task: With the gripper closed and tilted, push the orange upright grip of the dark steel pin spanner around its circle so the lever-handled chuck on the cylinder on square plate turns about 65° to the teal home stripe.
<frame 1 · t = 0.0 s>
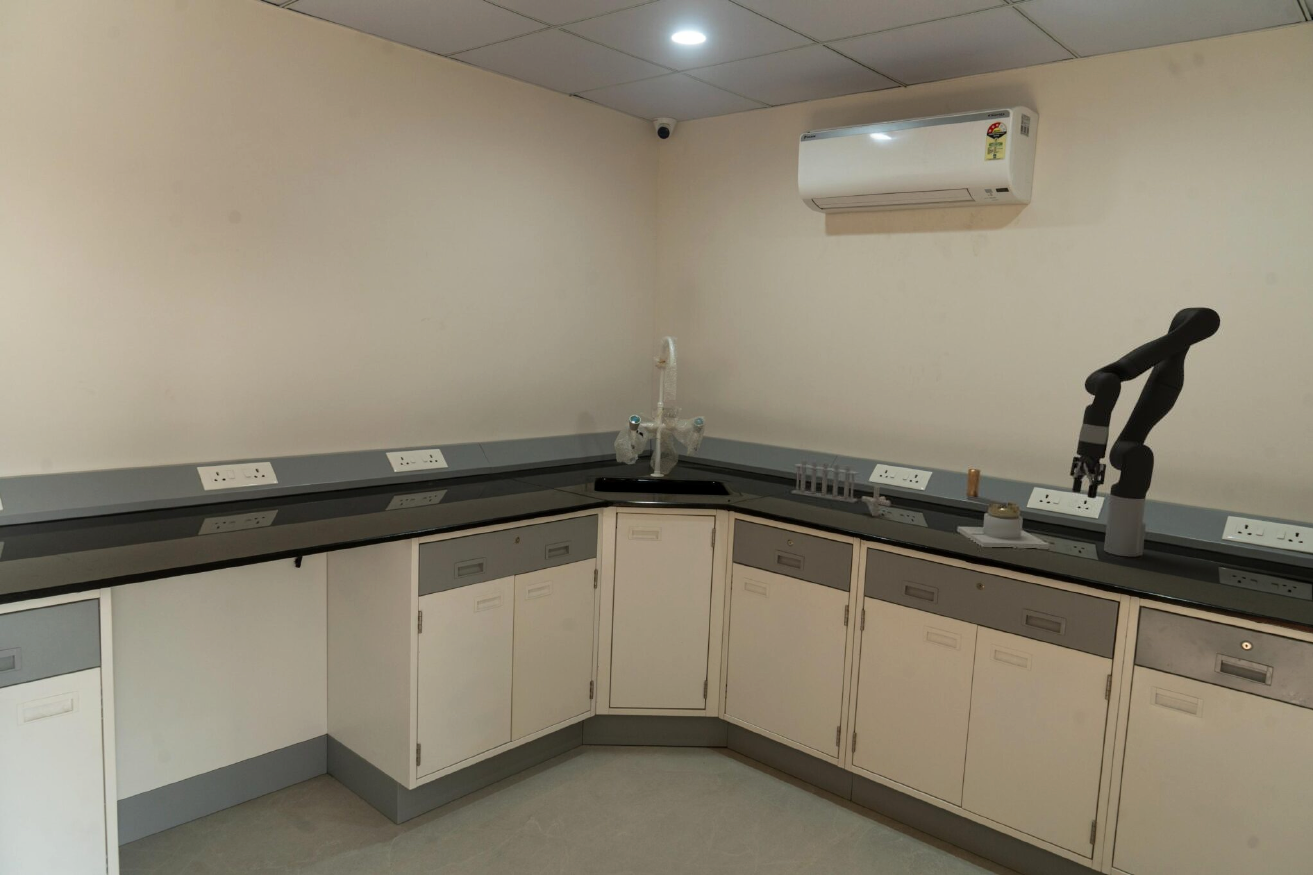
hand: (1083, 494, 250), 17 cm above the table, tool pointing down, fingers open, 8 cm apart
pipe connector: (874, 515, 293), on the table
lever-handled chuck: (992, 493, 266), point 14 cm above the table, hinge at 0.0°
cylinder on square plate: (1001, 539, 264), on the table
test tube rack: (823, 497, 322), on the table
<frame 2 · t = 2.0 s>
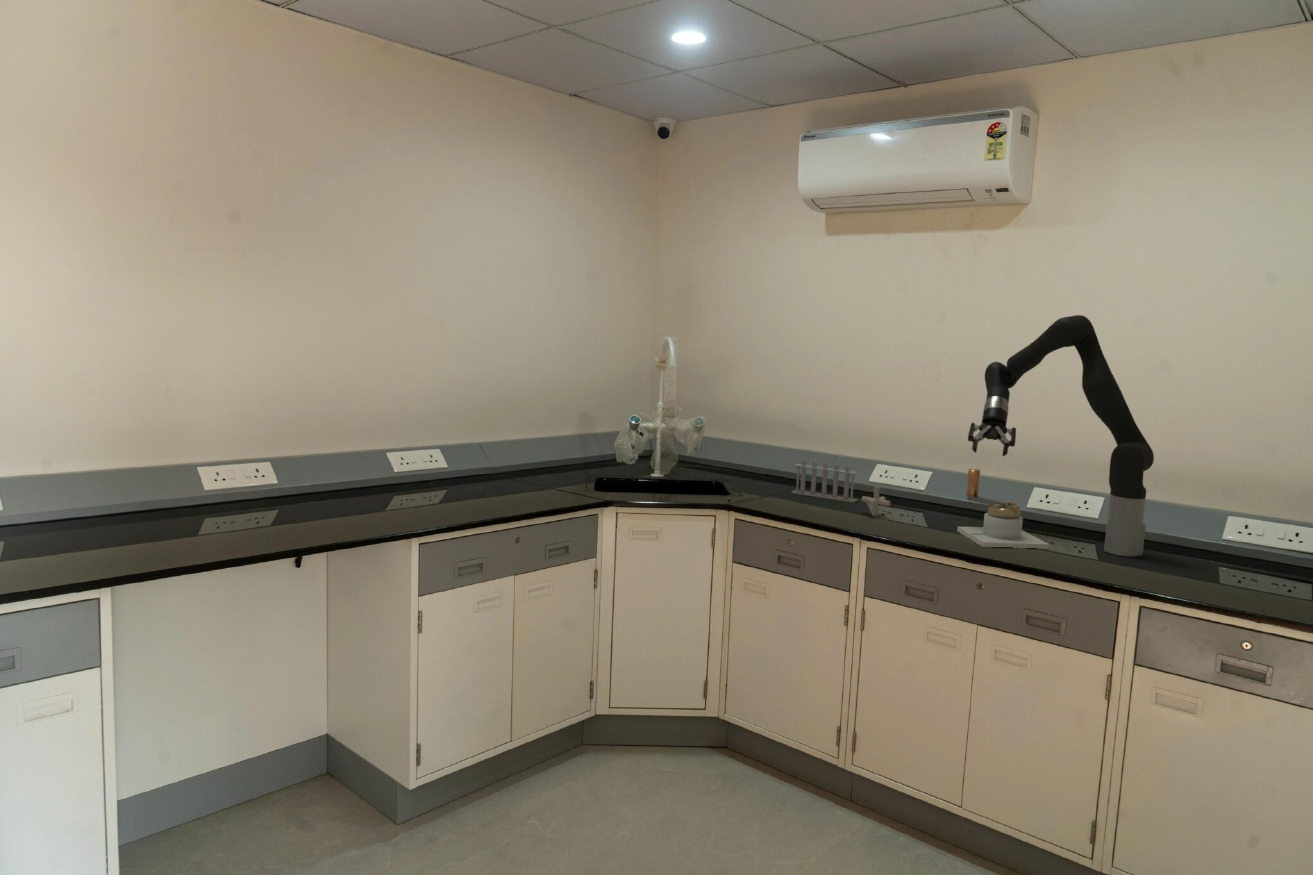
hand: (989, 453, 272), 25 cm above the table, tool tilted 45°, fingers open, 8 cm apart
nothing on the table moved.
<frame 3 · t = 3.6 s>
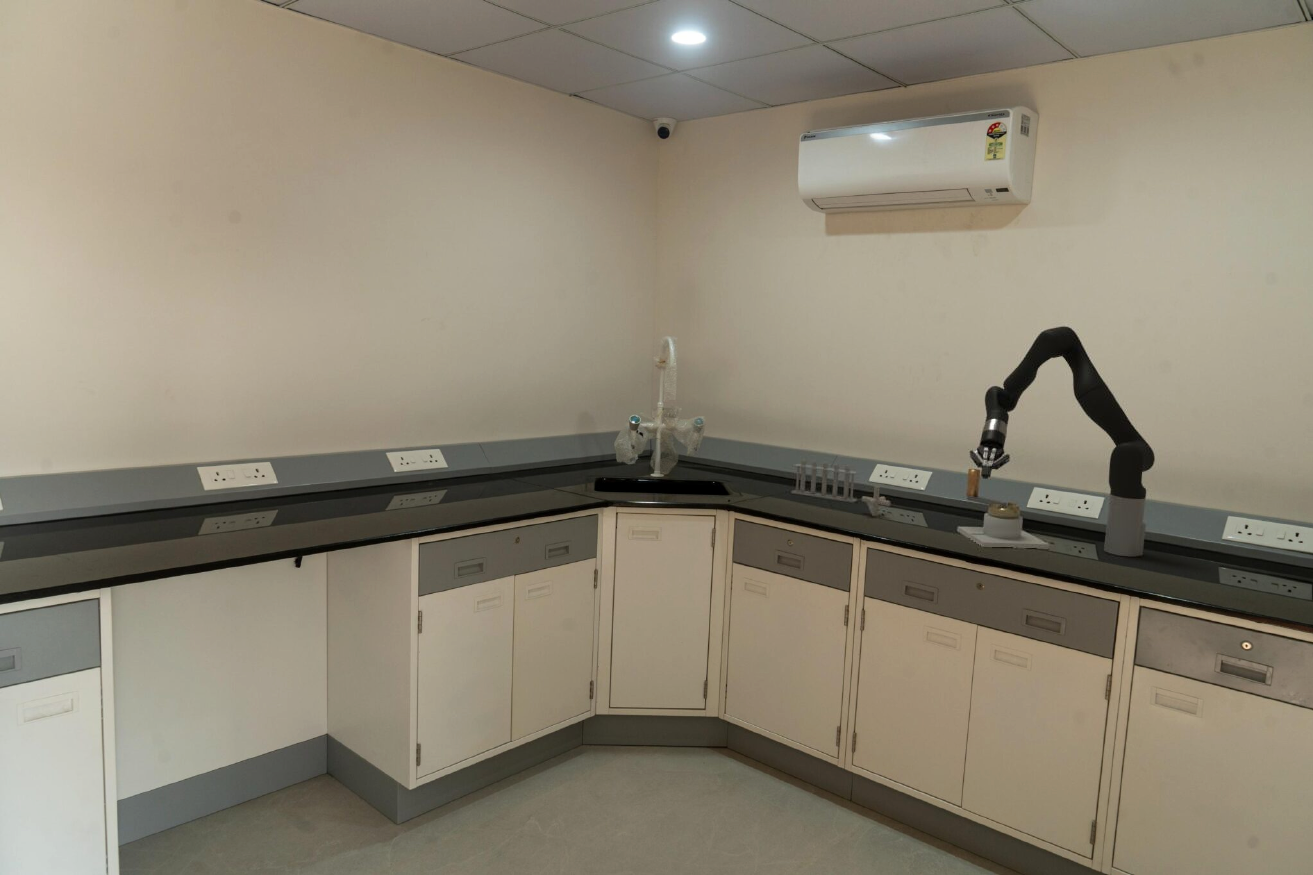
hand: (985, 477, 275), 17 cm above the table, tool tilted 45°, fingers closed
nothing on the table moved.
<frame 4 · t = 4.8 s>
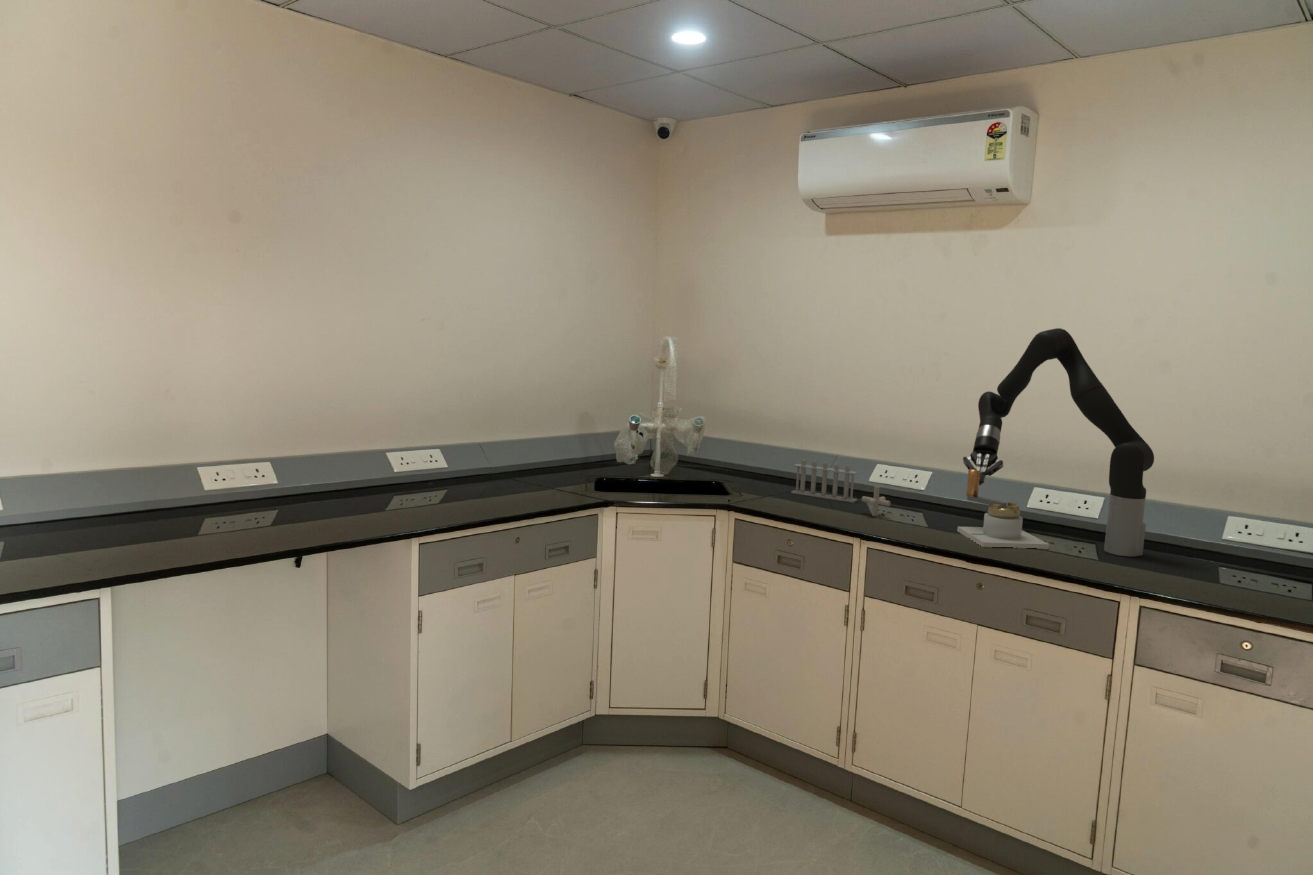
hand: (978, 483, 273), 15 cm above the table, tool tilted 45°, fingers closed
lever-handled chuck: (992, 493, 266), point 14 cm above the table, hinge at 0.2°, touching gripper
everything else where it was.
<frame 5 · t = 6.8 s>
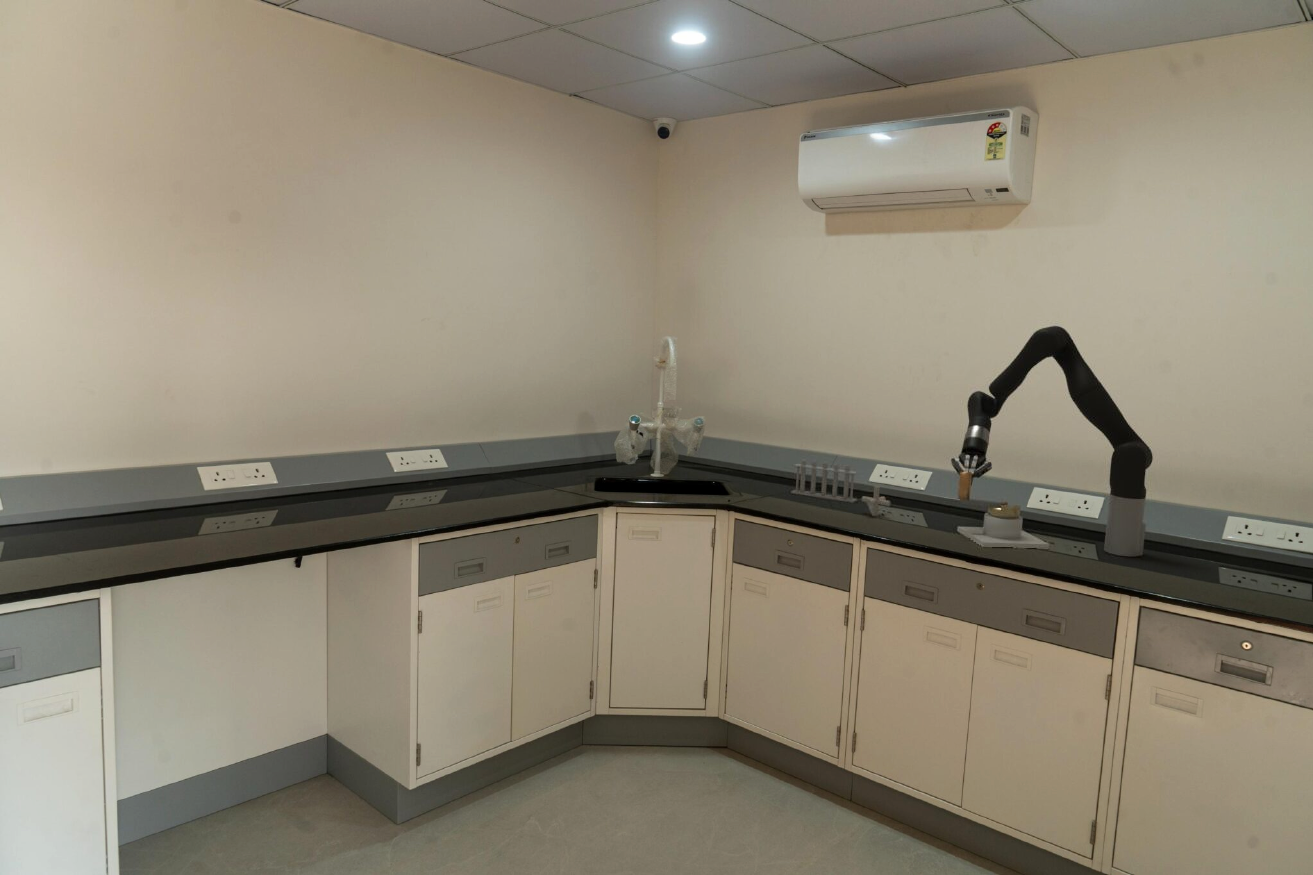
hand: (966, 485, 269), 15 cm above the table, tool tilted 45°, fingers closed
lever-handled chuck: (989, 494, 264), point 14 cm above the table, hinge at 35.2°, touching gripper
everything else where it was.
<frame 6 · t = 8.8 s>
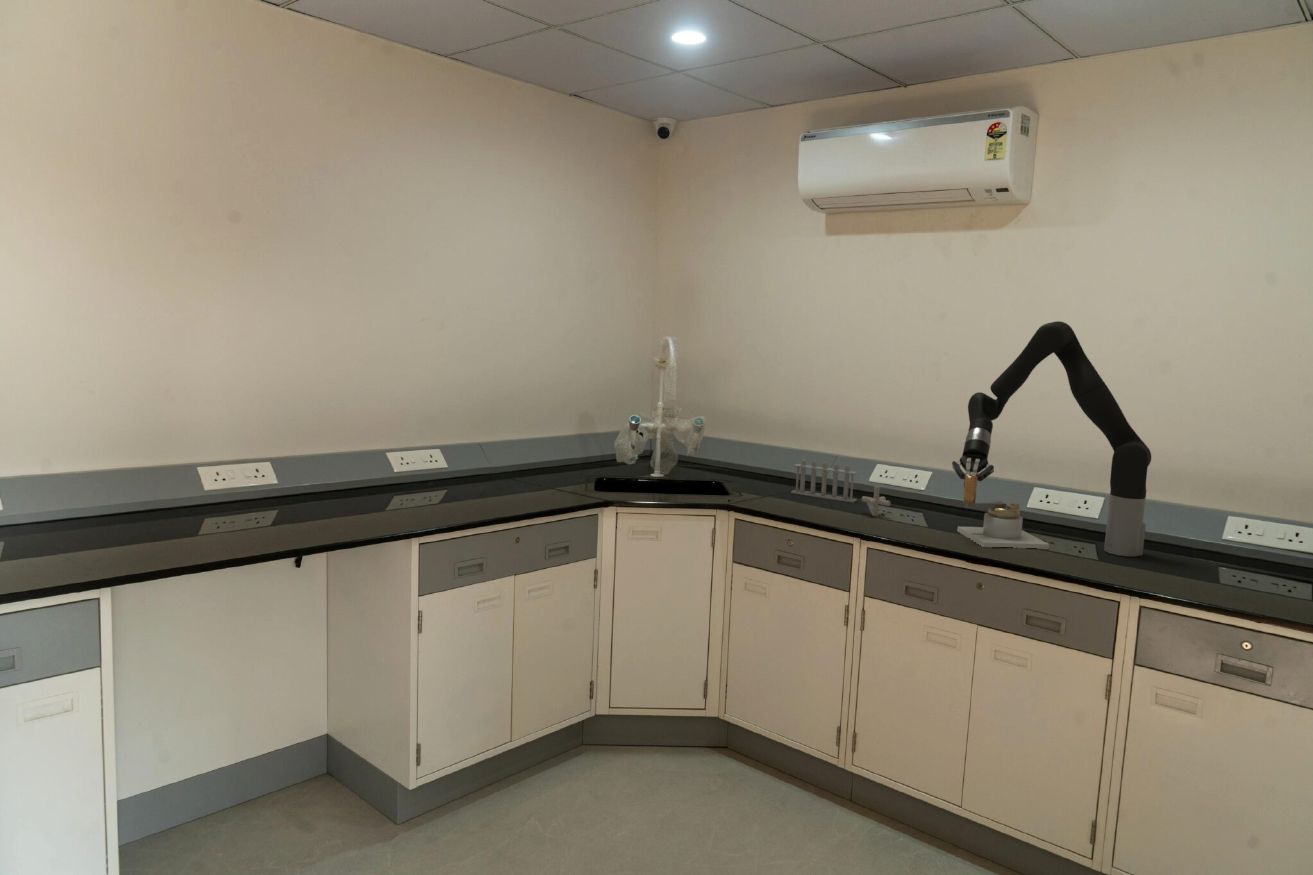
hand: (968, 489, 262), 15 cm above the table, tool tilted 45°, fingers closed
lever-handled chuck: (991, 495, 261), point 14 cm above the table, hinge at 68.8°, touching gripper
everything else where it was.
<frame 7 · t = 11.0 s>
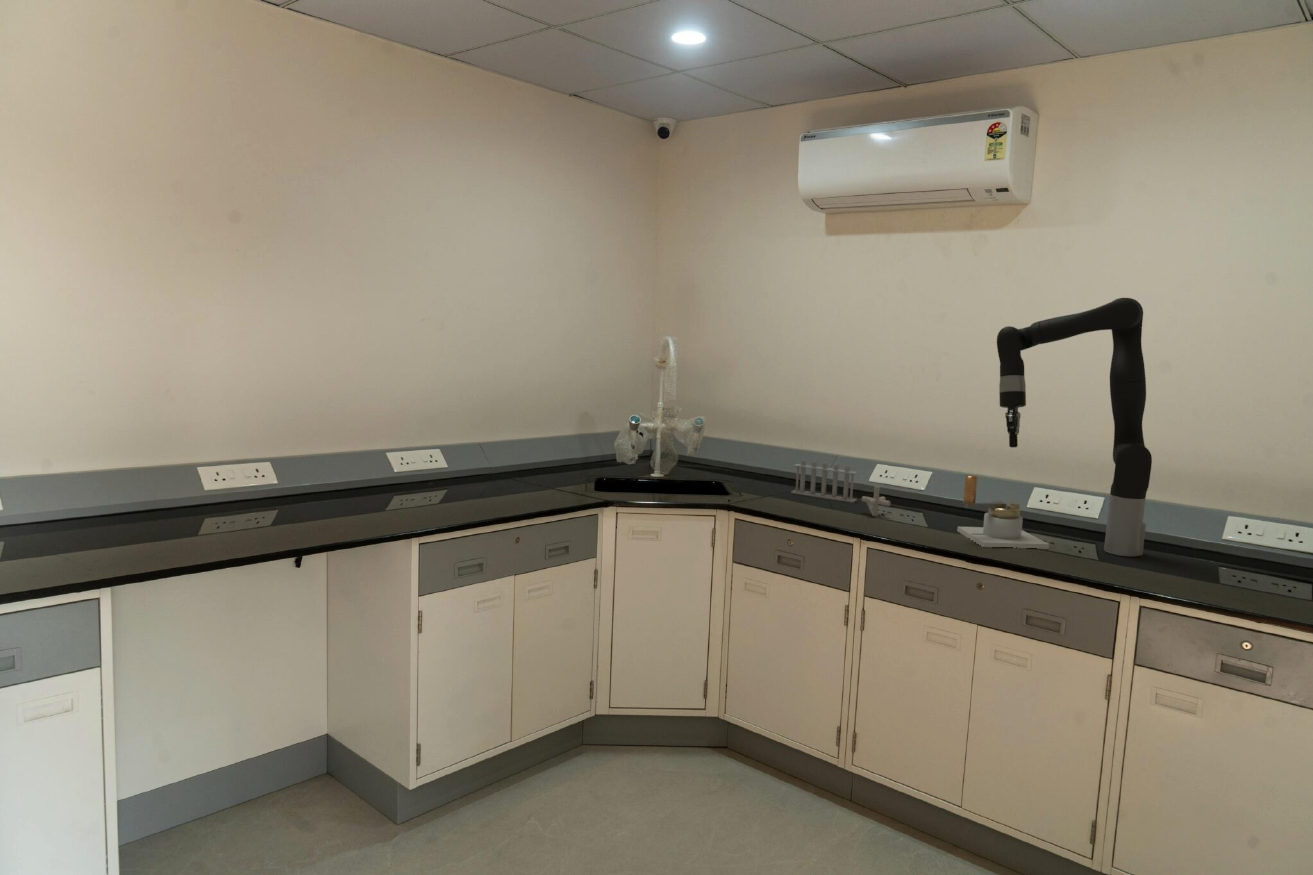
hand: (1013, 447, 262), 29 cm above the table, tool pointing down, fingers closed
lever-handled chuck: (991, 495, 261), point 14 cm above the table, hinge at 68.9°
everything else where it was.
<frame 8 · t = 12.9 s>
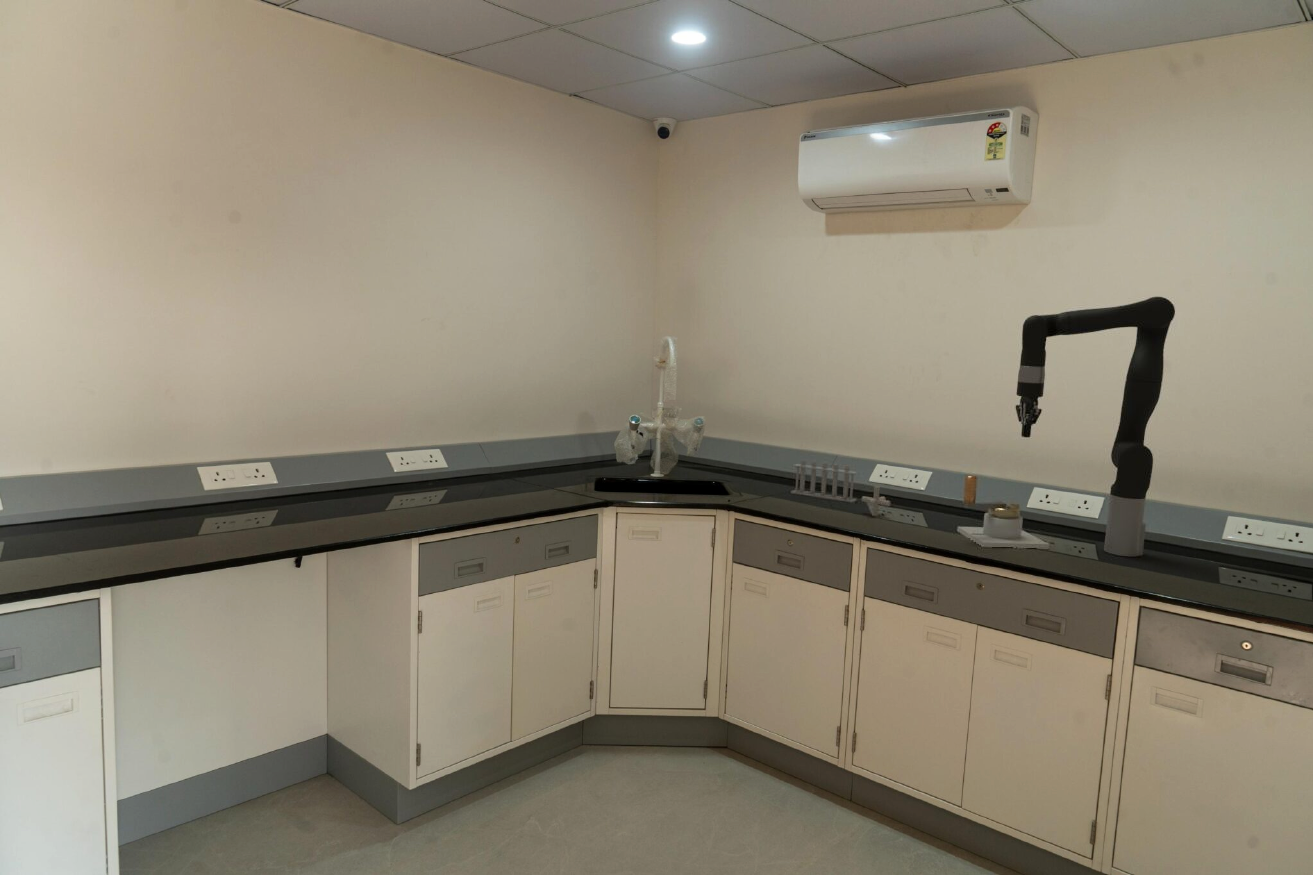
hand: (1025, 437, 263), 32 cm above the table, tool pointing down, fingers closed
nothing on the table moved.
at the end: lever-handled chuck at +69° (first picture: +0°); pipe connector moved 0.2 cm from its start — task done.
